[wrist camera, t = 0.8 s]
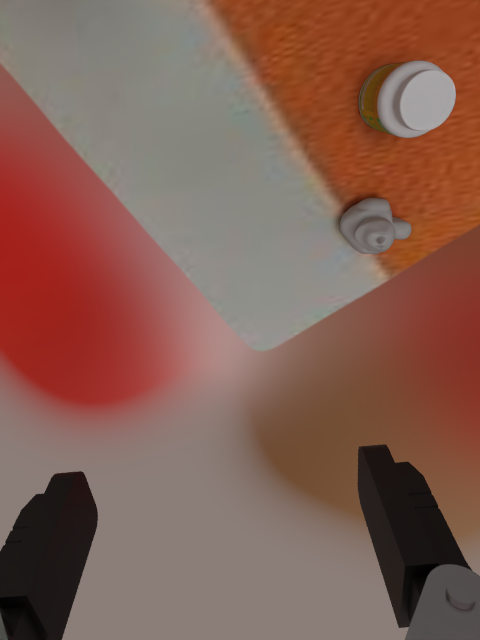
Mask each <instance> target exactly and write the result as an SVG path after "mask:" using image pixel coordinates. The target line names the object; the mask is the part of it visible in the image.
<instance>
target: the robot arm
mask: <svg viewBox="0 0 480 640" xmlns="http://www.w3.org/2000/svg"><path fill="white" fill-rule="evenodd" d="M358 492H359V499H360V504H361V508H362V511H363V514H364V517H365V520H366V524H367V527H368V530H369V533H370V536H371V539H372V542H373V546H374V549H375V552H376V556H377V559H378V562H379V565H380V569H381V572H382V575H383V578H384V581H385V585H386V588H387V591H388V594H389V597H390V600H391V604H392V607H393V610H394V613H395V617H396V620H397V623H398V626H399V628H402V627H409V629H408V632H407V635H406V638H405V640H480V576H479V575H478V574H476V573H475V572H473V571H472V569H471V568H470V567H469V566H468V564H467V562H466V561H465V559H464V557H463V555H462V553H461V551H460V549H459V547H458V545H457V543H456V541H455V539H454V537H453V535H452V533H451V531H450V529H449V527H448V525H447V523H446V521H445V519H444V517H443V515H442V513H441V511H440V509H439V508H438V505H437V503H436V501H435V498H434V496H433V495H432V494H431V490H430V488H429V487H428V484H427V483H426V480H425V478H424V476H423V475H422V474H421V473H420V472H419V471H418V470H417V469H416V468H415V467H413V466H412V465H411V464H410V463H409V462H400V463H395V462H394V460H393V458H392V455H391V453H390V451H389V449H388V447H387V445H373V446H362V447H359V450H358ZM97 520H98V513H97V507H96V504H95V501H94V499H93V496H92V493H91V490H90V488H89V485H88V482H87V479H86V477H85V475H84V473H83V472H81V471H80V472H68V473H57V474H55V475H53V477H52V478H51V480H50V482H49V484H48V487H47V489H46V491H45V493H44V494H36V495H35V496H34V497H33V498H32V499H31V500H30V501H29V503H28V504H27V505H26V506H25V507H24V508H23V509H22V510H21V512H20V514H19V516H18V518H17V520H16V522H15V524H14V526H13V530H12V531H11V532H10V534H9V536H8V538H7V540H6V544H5V545H4V546H3V547H2V549H1V551H0V640H62V637H63V634H64V630H65V627H66V624H67V621H68V617H69V614H70V611H71V608H72V604H73V602H74V599H75V595H76V592H77V589H78V585H79V583H80V579H81V576H82V572H83V570H84V567H85V563H86V560H87V557H88V554H89V550H90V547H91V544H92V541H93V538H94V535H95V531H96V528H97Z"/></svg>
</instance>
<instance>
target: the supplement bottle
mask: <svg viewBox="0 0 480 640" xmlns="http://www.w3.org/2000/svg"><path fill="white" fill-rule="evenodd" d="M455 98H456V91H455V86H454V83H453V81H452V79H451V78H450V77H449V76H448V75H447V74H446V73H444V72H443V71H442V70H441V69H440V68H439V67H438V66H436V65H435V64H433V63H431V62H427V61H409V62H403V63H396V64H389V65H386V66H383V67H380V68H378V69H377V70H375V71H374V72H373V73H372V74H371V75H370V76H369V77H368V78H367V79H366V81H365V82H364V84H363V86H362V88H361V91H360V95H359V110H360V114H361V116H362V118H363V120H364V121H365V122H366V123H367V124H368V125H369V126H370V127H372V128H374V129H376V130H379V131H382V132H385V133H388V134H392V135H395V136H398V137H404V138H412V137H417V136H420V135H422V134H425V133H426V132H428V131H429V130H431V129H434V128H436V127H438V126H439V125H441V124H442V123H443V122H444V121H445V120H446V119H447V118H448V116H449V115H450V113H451V111H452V109H453V107H454V104H455Z"/></svg>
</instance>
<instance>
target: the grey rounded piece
mask: <svg viewBox="0 0 480 640" xmlns="http://www.w3.org/2000/svg"><path fill="white" fill-rule="evenodd" d="M340 231H341V233H342V234H343V236H344V237H345V238H346V239H347V240H348V242H349V243H350V244H351V246H352V247H353V248H354V249H356V250H357V251H359V252H360V253H363V254H377V253H379V252H384V251H386V250H387V249H388V248H389V247H390V246H391V245H392V243H393V241H394V239H406V238H407V237H408V236H409V235H410V233H411V225H410V224H409V223H408V222H406V221H404V220H401V219H400V218H397V217H392V211H391V209H390V205H389V203H388V201H387V200H385V199H382V198H366V199H364V200H362V201H360V202H359V203H358V204H356V205H353V206H352V207H351V208H349V209H348V210H347V211H346V212H345V213H344V214H343V216H342V218H341V221H340Z"/></svg>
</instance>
